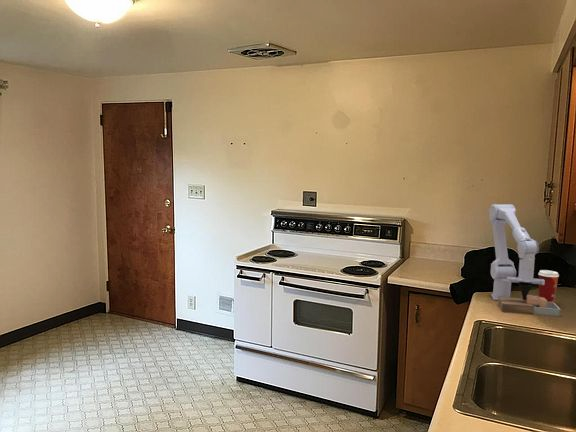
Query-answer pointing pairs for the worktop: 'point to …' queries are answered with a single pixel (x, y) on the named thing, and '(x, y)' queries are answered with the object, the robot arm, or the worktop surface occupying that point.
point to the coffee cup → (548, 284)
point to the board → (515, 305)
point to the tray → (547, 310)
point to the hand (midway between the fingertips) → (524, 299)
